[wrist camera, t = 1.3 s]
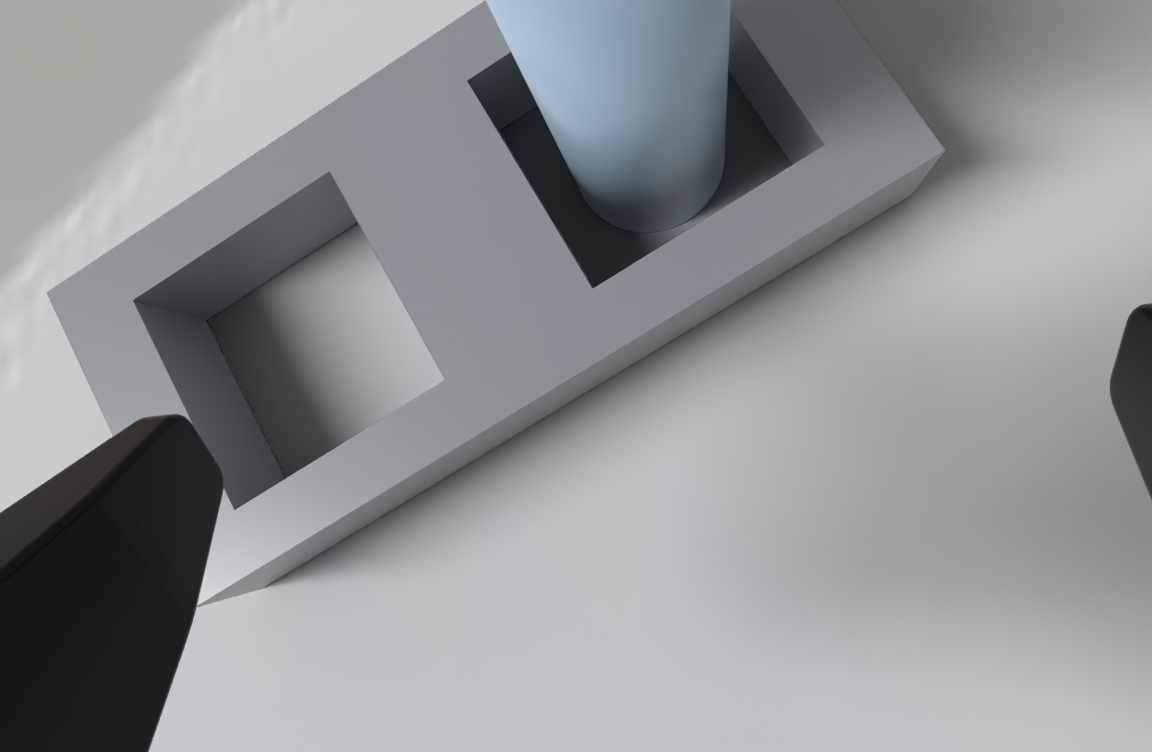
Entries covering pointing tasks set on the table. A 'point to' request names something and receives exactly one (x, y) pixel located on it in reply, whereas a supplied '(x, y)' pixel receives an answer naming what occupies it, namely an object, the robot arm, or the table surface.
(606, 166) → the plug
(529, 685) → the table surface
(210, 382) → the panel
